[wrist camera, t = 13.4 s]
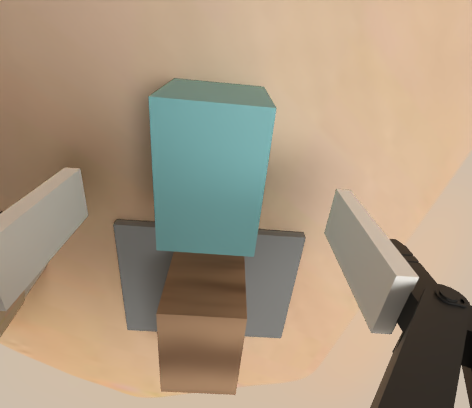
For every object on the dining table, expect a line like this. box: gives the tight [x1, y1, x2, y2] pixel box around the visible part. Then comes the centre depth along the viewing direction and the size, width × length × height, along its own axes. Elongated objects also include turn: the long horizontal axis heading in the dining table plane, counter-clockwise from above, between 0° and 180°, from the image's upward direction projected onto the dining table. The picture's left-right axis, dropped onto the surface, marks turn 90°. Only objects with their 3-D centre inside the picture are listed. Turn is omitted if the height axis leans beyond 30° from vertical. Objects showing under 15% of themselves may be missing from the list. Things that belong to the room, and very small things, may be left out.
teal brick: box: [149, 78, 276, 257], centre depth 19 cm, size 9×6×7 cm, turn 175°
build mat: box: [113, 219, 305, 338], centre depth 28 cm, size 13×16×1 cm
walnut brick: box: [156, 252, 247, 395], centre depth 25 cm, size 9×6×7 cm, turn 175°
